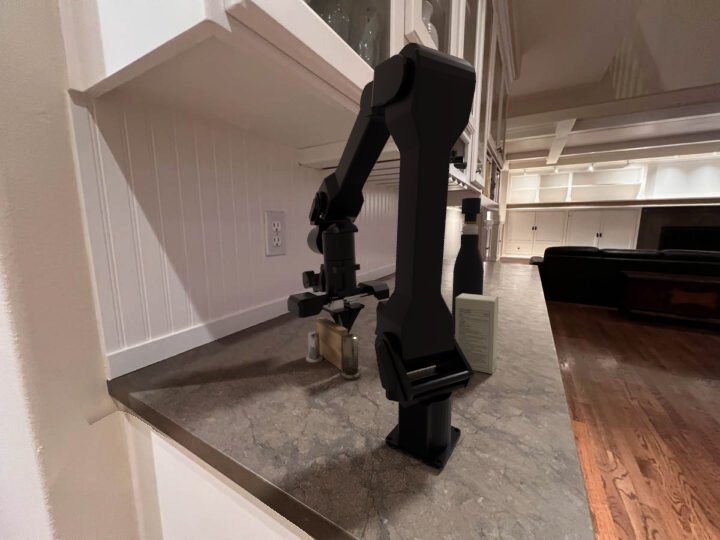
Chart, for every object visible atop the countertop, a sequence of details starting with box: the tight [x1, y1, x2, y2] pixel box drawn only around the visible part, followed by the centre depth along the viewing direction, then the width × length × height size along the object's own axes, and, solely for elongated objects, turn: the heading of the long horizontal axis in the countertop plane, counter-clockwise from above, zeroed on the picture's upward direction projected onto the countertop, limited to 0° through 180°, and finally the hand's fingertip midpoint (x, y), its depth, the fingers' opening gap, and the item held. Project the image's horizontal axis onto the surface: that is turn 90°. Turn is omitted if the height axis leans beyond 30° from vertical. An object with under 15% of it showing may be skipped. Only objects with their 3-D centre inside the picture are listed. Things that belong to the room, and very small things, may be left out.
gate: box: [316, 316, 348, 371], centre depth 52 cm, size 9×1×7 cm, turn 34°
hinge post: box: [340, 333, 362, 381], centre depth 47 cm, size 3×3×6 cm
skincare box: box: [454, 293, 499, 375], centre depth 49 cm, size 6×4×12 cm
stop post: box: [305, 330, 324, 364], centre depth 52 cm, size 3×3×5 cm
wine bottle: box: [451, 197, 485, 335], centre depth 65 cm, size 6×6×30 cm
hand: (343, 341), depth 54 cm, fingers closed
